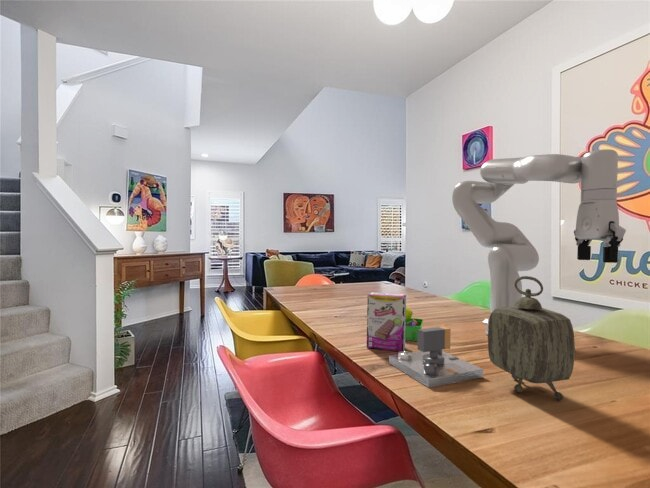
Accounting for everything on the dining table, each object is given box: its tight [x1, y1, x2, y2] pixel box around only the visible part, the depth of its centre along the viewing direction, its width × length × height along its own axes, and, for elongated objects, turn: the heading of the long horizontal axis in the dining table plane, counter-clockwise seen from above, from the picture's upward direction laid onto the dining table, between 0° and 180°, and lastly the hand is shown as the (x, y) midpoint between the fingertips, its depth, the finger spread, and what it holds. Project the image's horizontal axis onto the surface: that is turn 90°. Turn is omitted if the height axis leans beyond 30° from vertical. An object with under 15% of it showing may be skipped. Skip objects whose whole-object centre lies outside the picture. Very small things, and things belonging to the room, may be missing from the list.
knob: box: [417, 325, 451, 365], centre depth 84 cm, size 5×8×8 cm, turn 112°
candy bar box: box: [366, 291, 407, 352], centre depth 101 cm, size 11×5×16 cm, turn 71°
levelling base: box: [388, 350, 484, 389], centre depth 84 cm, size 16×16×4 cm
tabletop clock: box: [487, 275, 576, 401], centre depth 73 cm, size 14×9×25 cm, turn 17°
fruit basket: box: [405, 306, 424, 342], centre depth 114 cm, size 11×9×11 cm
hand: (596, 261), depth 90 cm, fingers open, 9 cm apart
